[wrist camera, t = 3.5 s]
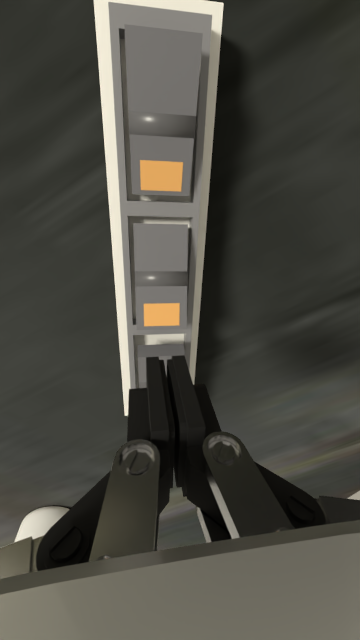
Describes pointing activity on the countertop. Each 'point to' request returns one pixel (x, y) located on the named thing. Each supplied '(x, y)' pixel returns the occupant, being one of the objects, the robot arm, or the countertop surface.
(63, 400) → the countertop surface
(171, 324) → the rocker
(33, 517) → the mug
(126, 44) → the rocker
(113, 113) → the power strip
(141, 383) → the rocker
